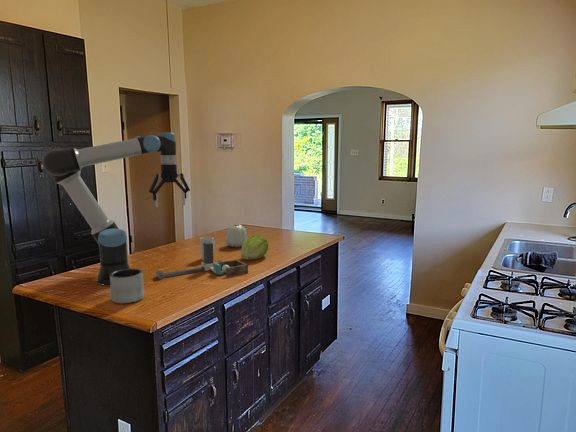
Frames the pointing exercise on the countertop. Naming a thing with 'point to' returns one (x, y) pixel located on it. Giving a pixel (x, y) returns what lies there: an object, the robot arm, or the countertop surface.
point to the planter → (127, 285)
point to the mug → (205, 240)
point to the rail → (179, 272)
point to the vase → (236, 236)
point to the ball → (224, 268)
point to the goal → (234, 267)
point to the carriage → (210, 259)
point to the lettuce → (254, 247)
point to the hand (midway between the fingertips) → (170, 206)
